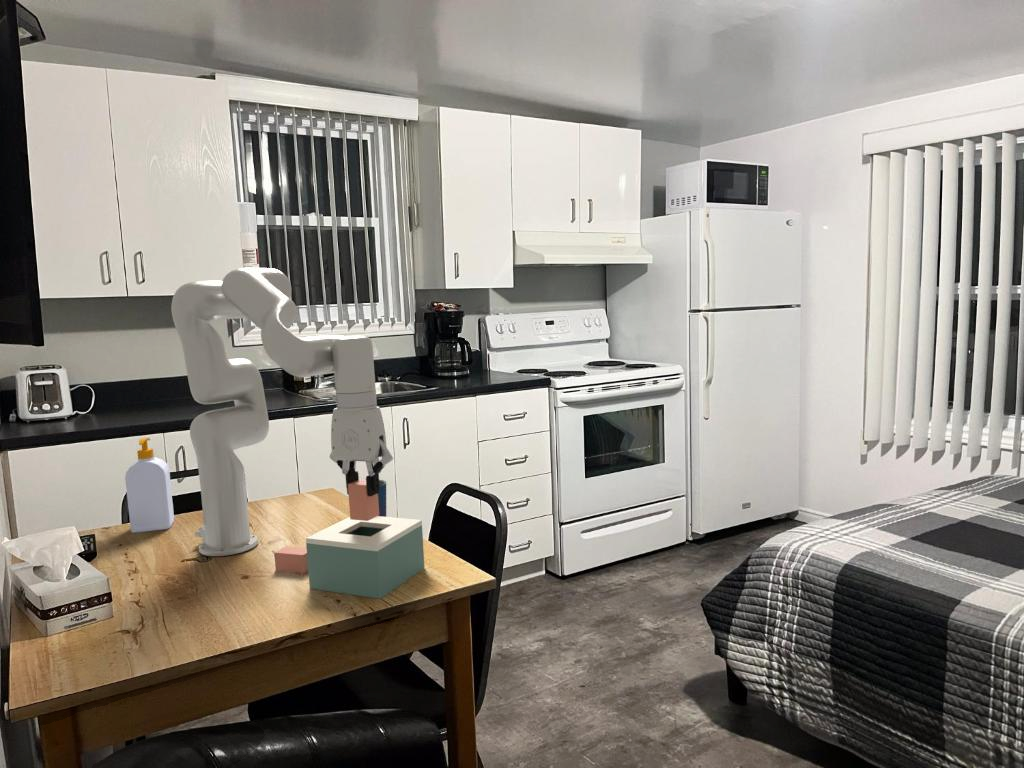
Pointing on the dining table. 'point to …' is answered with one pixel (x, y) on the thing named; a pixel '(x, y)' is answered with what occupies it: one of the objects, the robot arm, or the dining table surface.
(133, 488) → the soap bottle
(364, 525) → the green and cream box
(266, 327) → the robot arm
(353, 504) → the salmon pink block
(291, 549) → the block
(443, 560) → the dining table surface
